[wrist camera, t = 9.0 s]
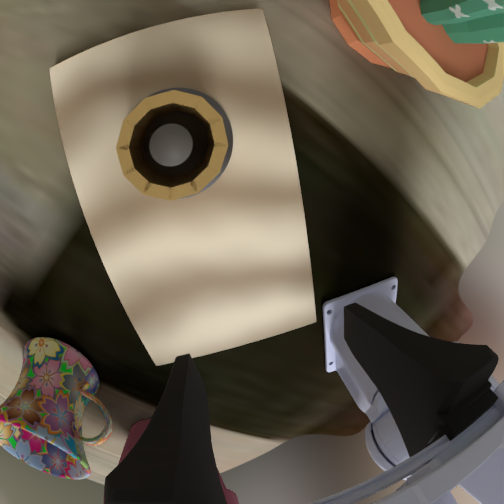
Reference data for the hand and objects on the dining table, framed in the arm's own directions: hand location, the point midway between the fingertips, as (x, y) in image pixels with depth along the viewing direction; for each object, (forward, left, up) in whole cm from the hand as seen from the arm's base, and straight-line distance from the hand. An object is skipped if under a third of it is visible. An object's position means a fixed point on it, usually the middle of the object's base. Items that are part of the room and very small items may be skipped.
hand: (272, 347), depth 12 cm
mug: (-6, +18, -10) cm, 21 cm away
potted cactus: (+17, -15, -10) cm, 25 cm away
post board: (+5, +2, -9) cm, 11 cm away
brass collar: (+9, +2, -8) cm, 12 cm away
